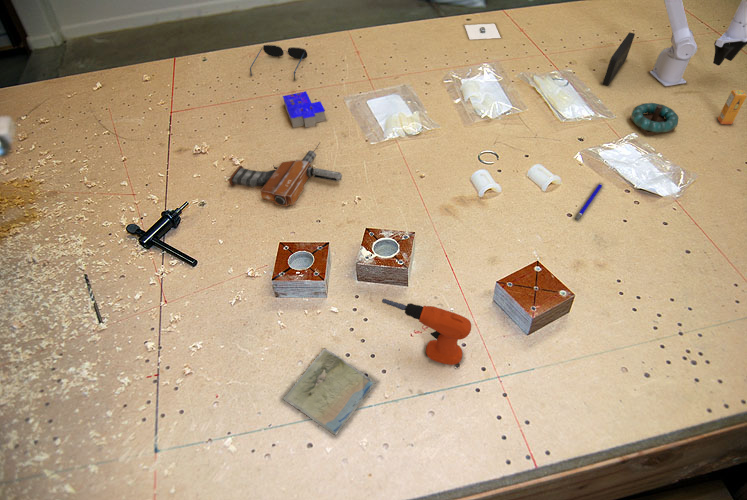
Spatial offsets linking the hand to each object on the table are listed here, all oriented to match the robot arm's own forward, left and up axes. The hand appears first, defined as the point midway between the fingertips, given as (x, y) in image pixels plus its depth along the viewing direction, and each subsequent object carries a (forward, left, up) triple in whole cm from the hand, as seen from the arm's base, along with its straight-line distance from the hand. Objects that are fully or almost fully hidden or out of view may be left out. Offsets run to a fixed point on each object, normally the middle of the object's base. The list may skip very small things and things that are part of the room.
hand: (722, 61), depth 169 cm
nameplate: (-15, -27, -8) cm, 32 cm away
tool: (+11, -142, -8) cm, 143 cm away
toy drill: (+75, -122, -8) cm, 143 cm away
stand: (+16, -32, -8) cm, 37 cm away
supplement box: (+20, -10, -8) cm, 24 cm away
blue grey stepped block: (-18, -135, -8) cm, 136 cm away
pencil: (+42, -67, -8) cm, 79 cm away
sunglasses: (-50, -140, -8) cm, 149 cm away
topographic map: (+80, -143, -8) cm, 164 cm away
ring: (+16, -32, -5) cm, 36 cm away
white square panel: (-56, -60, -8) cm, 82 cm away
